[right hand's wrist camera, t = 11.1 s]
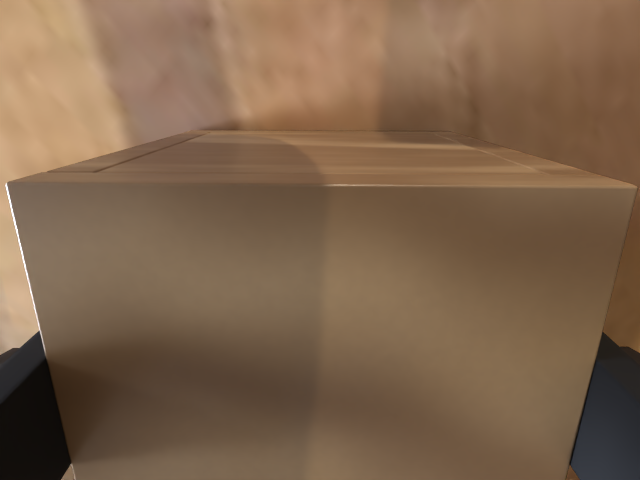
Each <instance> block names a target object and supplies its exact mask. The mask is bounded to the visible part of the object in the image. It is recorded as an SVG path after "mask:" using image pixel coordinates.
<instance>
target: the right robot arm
mask: <svg viewBox="0 0 640 480" xmlns="http://www.w3.org/2000/svg"><path fill="white" fill-rule="evenodd" d="M70 464H71V461H70V457H69V453H68V449H67V444H66V440H65V436H64V432H63V427H62V423H61V419H60V415H59V410H58V406H57V402H56V398H55V393H54V389H53V385H52V381H51V376H50V372H49V368H48V364H47V359H46V355H45V351H44V347H43V342H42V338H41V334H40V331H38V332H37V333H36V334H35V335H34V336H33V337H32V338H31V339H29V340H28V341H27V342H26V343H25V344H24V345H23V346H22V347H21V348H12V349H11V350H9V351H7V352H5V353H3V354H1V355H0V480H61V478H62V477H63V475H64V474H65V472H66V471H67V469H68V468H69V466H70ZM570 465H571V467H572V468H573V470H574V471H575V473H576V474H577V476H578V478H579V479H580V480H640V353H638V352H637V351H635V350H633V349H631V348H629V347H619V346H618V345H617V344H616V343H614V342H613V341H612V340H611V339H610V338H609V337H608V336H607V335H606V334H604V333H603V332H602V335H601V339H600V343H599V348H598V352H597V356H596V360H595V364H594V368H593V372H592V376H591V380H590V384H589V388H588V392H587V396H586V400H585V404H584V408H583V412H582V416H581V420H580V424H579V428H578V432H577V436H576V440H575V444H574V448H573V452H572V456H571V460H570Z"/></svg>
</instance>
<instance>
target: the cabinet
mask: <svg viewBox="0 0 640 480" xmlns="http://www.w3.org/2000/svg"><path fill="white" fill-rule="evenodd" d="M6 189H7V194H8V198H9V202H10V206H11V211H12V215H13V219H14V223H15V228H16V232H17V236H18V240H19V245H20V249H21V253H22V257H23V262H24V266H25V270H26V274H27V279H28V283H29V287H30V291H31V296H32V300H33V304H34V308H35V313H36V317H37V321H38V325H39V330H40V334H41V338H42V342H43V347H44V351H45V355H46V359H47V364H48V368H49V372H50V376H51V381H52V385H53V389H54V393H55V398H56V402H57V406H58V410H59V415H60V419H61V423H62V427H63V432H64V436H65V440H66V444H67V449H68V453H69V457H70V461H71V466H72V470H73V474H74V478H75V480H566V477H567V473H568V469H569V464H570V460H571V456H572V452H573V448H574V444H575V440H576V436H577V432H578V428H579V424H580V420H581V416H582V412H583V408H584V404H585V400H586V396H587V392H588V388H589V384H590V380H591V376H592V372H593V368H594V364H595V360H596V356H597V352H598V348H599V343H600V339H601V335H602V331H603V327H604V323H605V319H606V315H607V311H608V307H609V303H610V299H611V295H612V291H613V287H614V283H615V279H616V275H617V271H618V267H619V263H620V259H621V255H622V251H623V247H624V243H625V239H626V235H627V231H628V226H629V222H630V218H631V214H632V210H633V206H634V202H635V198H636V194H637V190H638V187H637V186H636V185H633V184H630V183H626V182H623V181H619V180H616V179H612V178H609V177H605V176H602V175H598V174H595V173H592V172H588V171H585V170H581V169H578V168H574V167H571V166H568V165H564V164H561V163H557V162H554V161H550V160H547V159H544V158H540V157H537V156H533V155H530V154H526V153H523V152H519V151H516V150H513V149H509V148H506V147H502V146H499V145H495V144H492V143H488V142H485V141H482V140H478V139H475V138H471V137H468V136H464V135H461V134H457V133H454V132H447V131H250V130H191V131H188V132H185V133H181V134H178V135H174V136H171V137H167V138H164V139H160V140H157V141H153V142H149V143H146V144H142V145H139V146H135V147H132V148H128V149H125V150H121V151H118V152H114V153H110V154H107V155H103V156H100V157H96V158H93V159H89V160H86V161H82V162H78V163H75V164H71V165H68V166H64V167H61V168H57V169H54V170H50V171H47V172H41V173H38V174H34V175H31V176H27V177H24V178H20V179H16V180H13V181H9V182H7V183H6Z"/></svg>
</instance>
